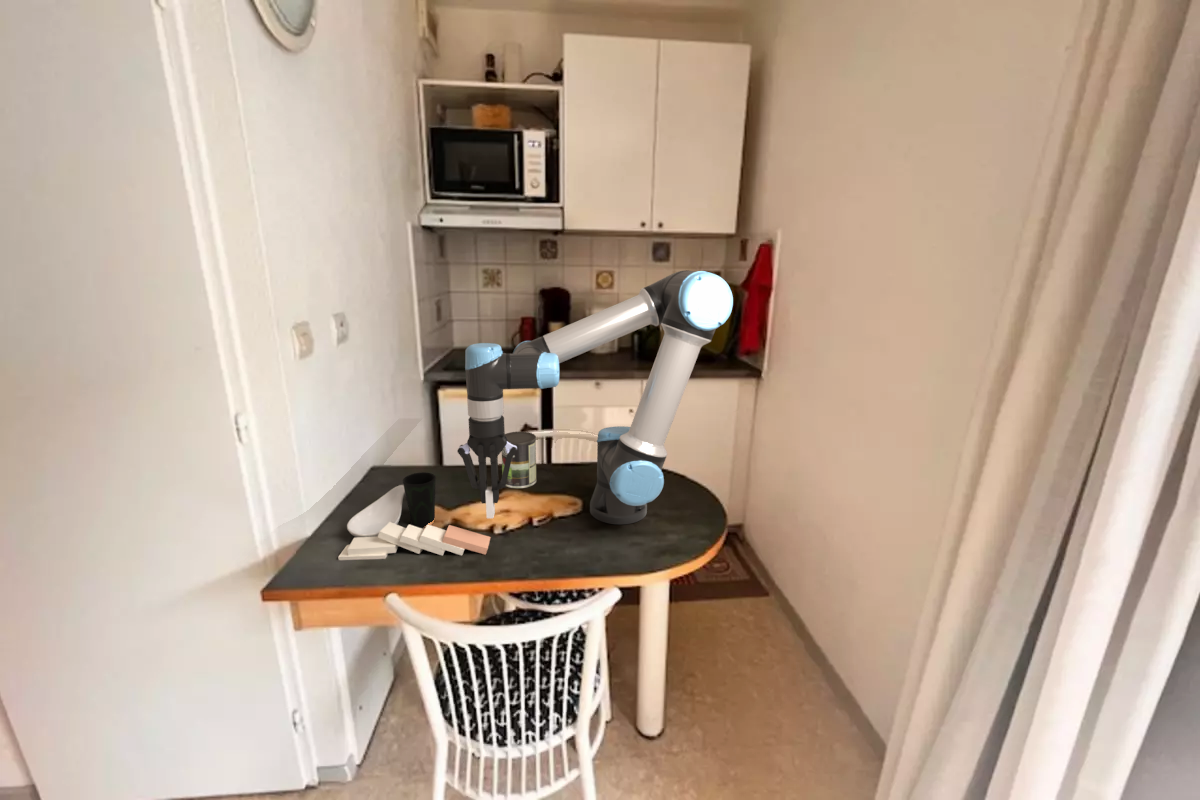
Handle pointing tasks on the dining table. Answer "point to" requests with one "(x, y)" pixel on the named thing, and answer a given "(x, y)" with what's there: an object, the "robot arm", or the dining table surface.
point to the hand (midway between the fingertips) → (490, 515)
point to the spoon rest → (378, 514)
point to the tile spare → (466, 539)
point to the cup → (420, 497)
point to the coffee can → (521, 460)
